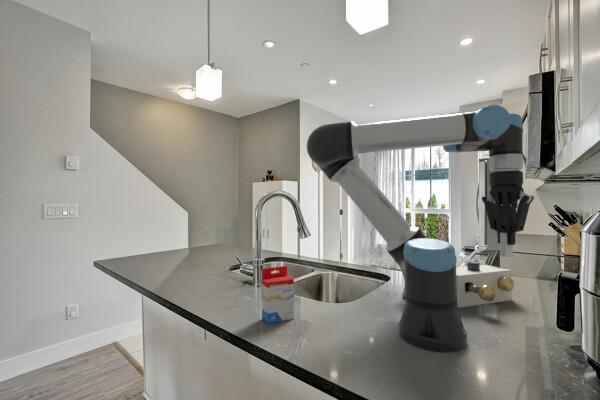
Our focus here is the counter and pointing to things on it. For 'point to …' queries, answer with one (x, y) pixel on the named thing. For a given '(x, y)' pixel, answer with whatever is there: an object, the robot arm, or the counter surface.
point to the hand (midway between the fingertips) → (506, 256)
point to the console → (478, 278)
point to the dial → (473, 266)
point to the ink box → (277, 295)
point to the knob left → (482, 291)
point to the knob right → (505, 284)
